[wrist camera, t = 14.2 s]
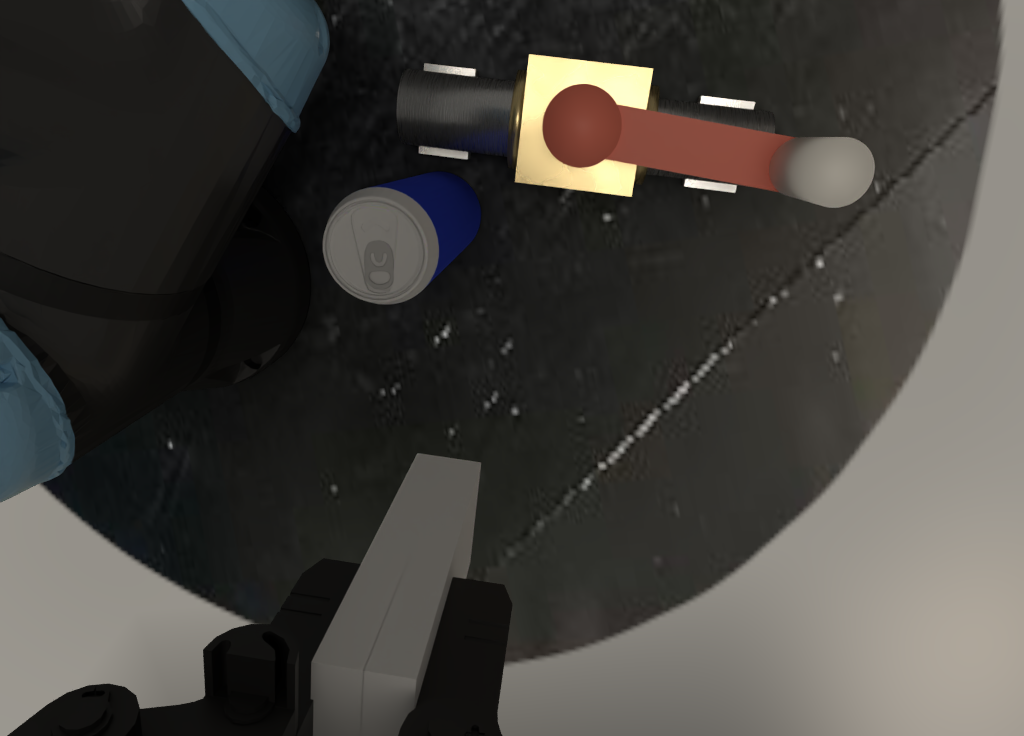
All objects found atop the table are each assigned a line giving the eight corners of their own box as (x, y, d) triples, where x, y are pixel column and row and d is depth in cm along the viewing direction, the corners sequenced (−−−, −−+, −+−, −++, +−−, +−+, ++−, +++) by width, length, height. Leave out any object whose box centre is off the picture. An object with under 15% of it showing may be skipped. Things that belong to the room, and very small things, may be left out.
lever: (537, 158, 32) (528, 163, 27) (551, 78, 31) (545, 66, 26) (807, 210, 32) (856, 226, 26) (832, 131, 31) (889, 130, 25)
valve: (414, 160, 42) (373, 166, 34) (421, 55, 40) (379, 33, 32) (737, 200, 41) (777, 217, 33) (760, 95, 39) (809, 83, 31)
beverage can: (400, 171, 42) (310, 188, 28) (481, 170, 42) (431, 188, 28) (404, 253, 44) (322, 309, 30) (483, 253, 43) (437, 310, 29)
